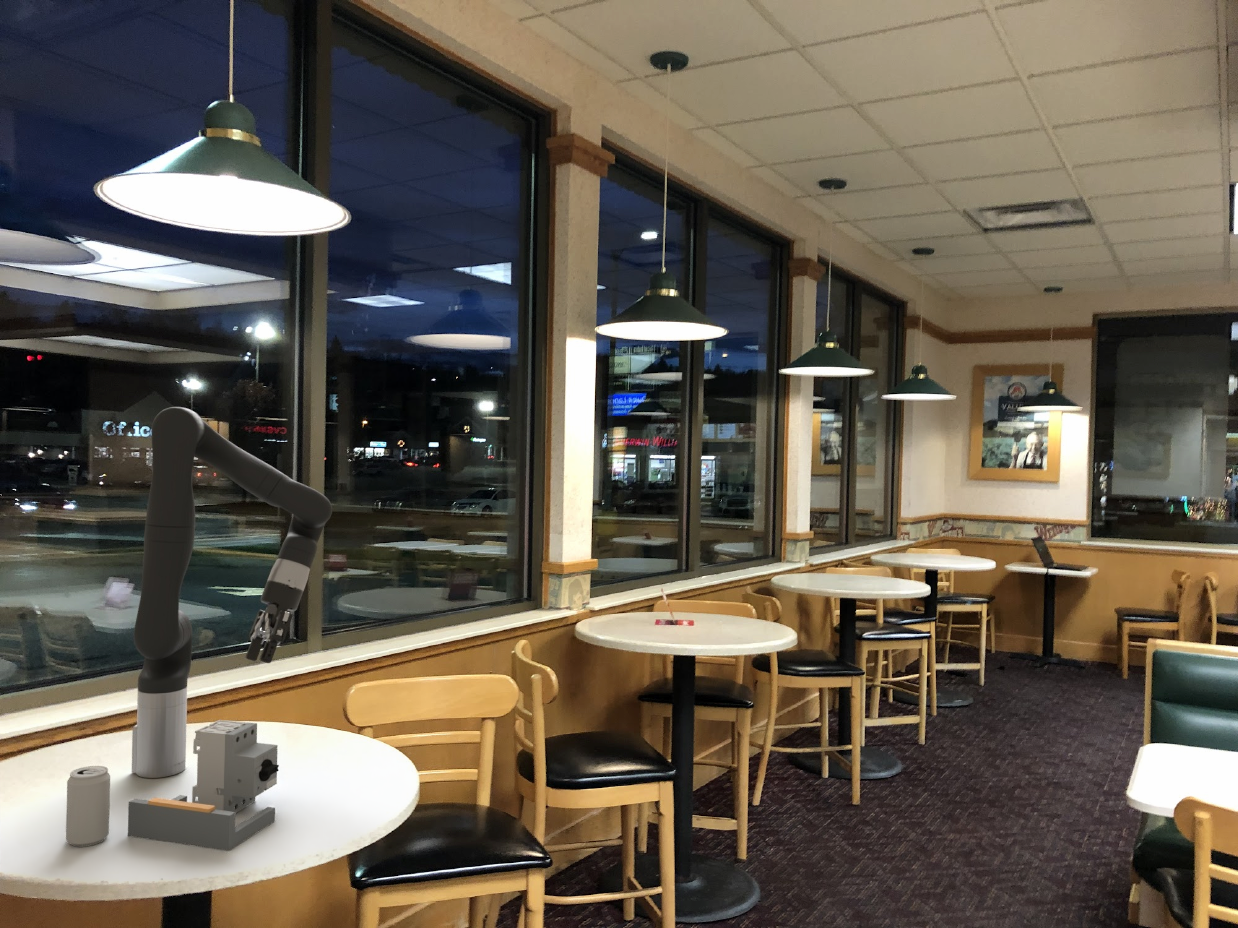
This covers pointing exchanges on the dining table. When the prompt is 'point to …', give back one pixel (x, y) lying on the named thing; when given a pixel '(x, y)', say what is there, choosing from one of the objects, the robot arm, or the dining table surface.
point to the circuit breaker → (232, 765)
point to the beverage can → (88, 806)
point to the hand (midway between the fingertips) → (257, 661)
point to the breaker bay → (192, 823)
